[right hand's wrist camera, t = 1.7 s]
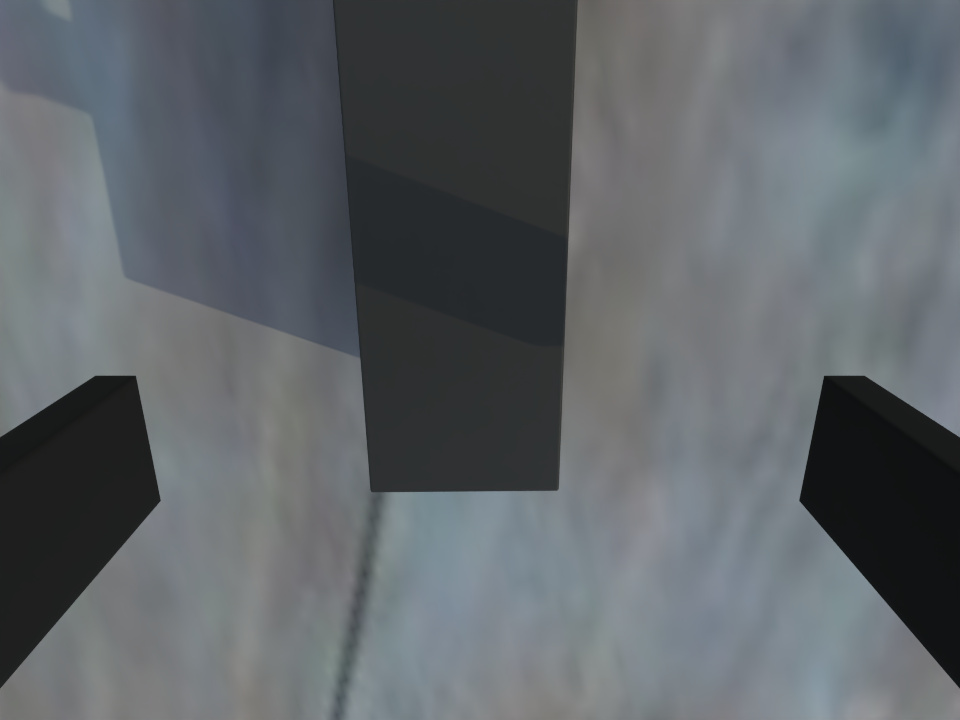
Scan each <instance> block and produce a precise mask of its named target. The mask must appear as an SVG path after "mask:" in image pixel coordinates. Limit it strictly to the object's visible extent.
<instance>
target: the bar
mask: <svg viewBox="0 0 960 720" xmlns="http://www.w3.org/2000/svg"><path fill="white" fill-rule="evenodd" d="M333 6H334V19H335V32H336V45H337V58H338V71H339V84H340V97H341V110H342V123H343V136H344V149H345V162H346V175H347V188H348V201H349V215H350V228H351V241H352V254H353V267H354V280H355V293H356V306H357V319H358V332H359V345H360V358H361V371H362V384H363V397H364V410H365V423H366V436H367V449H368V462H369V475H370V488H371V492H446V491H557V490H558V489H559V467H560V441H561V415H562V389H563V363H564V337H565V311H566V285H567V259H568V233H569V207H570V181H571V155H572V129H573V104H574V78H575V52H576V26H577V0H333Z"/></svg>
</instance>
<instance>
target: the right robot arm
mask: <svg viewBox="0 0 960 720" xmlns="http://www.w3.org/2000/svg"><path fill="white" fill-rule="evenodd" d="M160 501H161V500H160V495H159V490H158V485H157V480H156V475H155V470H154V465H153V460H152V455H151V450H150V445H149V440H148V435H147V430H146V425H145V420H144V415H143V410H142V405H141V400H140V395H139V390H138V385H137V380H136V376H95V377H93V378H91V379H90V380H88V381H87V382H85V383H84V384H82V385H81V386H79V387H78V388H76V389H74V390H73V391H71V392H70V393H68V394H67V395H65V396H64V397H62V398H61V399H59V400H57V401H56V402H54V403H53V404H51V405H50V406H48V407H47V408H45V409H44V410H42V411H40V412H39V413H37V414H36V415H34V416H33V417H31V418H30V419H28V420H26V421H25V422H23V423H22V424H20V425H19V426H17V427H16V428H14V429H13V430H11V431H9V432H8V433H6V434H5V435H3V436H2V437H0V688H1V687H2V686H3V684H4V683H5V682H6V681H7V680H8V679H9V677H10V676H11V675H12V674H13V673H14V672H15V670H16V669H17V668H18V667H19V666H20V665H21V663H22V662H23V661H24V660H25V659H26V658H27V656H28V655H29V654H30V653H31V652H32V651H33V649H34V648H35V647H36V646H37V645H38V644H39V642H40V641H41V640H42V639H43V638H44V637H45V635H46V634H47V633H48V632H49V631H50V630H51V628H52V627H53V626H54V625H55V624H56V623H57V621H58V620H59V619H60V618H61V617H62V615H63V614H64V613H65V612H66V611H67V610H68V608H69V607H70V606H71V605H72V604H73V603H74V601H75V600H76V599H77V598H78V597H79V596H80V594H81V593H82V592H83V591H84V590H85V589H86V587H87V586H88V585H89V584H90V583H91V582H92V580H93V579H94V578H95V577H96V576H97V575H98V573H99V572H100V571H101V570H102V569H103V568H104V566H105V565H106V564H107V563H108V562H109V561H110V559H111V558H112V557H113V556H114V555H115V553H116V552H117V551H118V550H119V549H120V548H121V546H122V545H123V544H124V543H125V542H126V541H127V539H128V538H129V537H130V536H131V535H132V534H133V532H134V531H135V530H136V529H137V528H138V527H139V525H140V524H141V523H142V522H143V521H144V520H145V518H146V517H147V516H148V515H149V514H150V513H151V511H152V510H153V509H154V508H155V507H156V506H157V504H158V503H159V502H160ZM799 501H800V502H801V503H802V504H803V506H804V507H805V508H806V509H807V510H808V511H809V513H810V514H811V515H812V516H813V517H814V518H815V520H816V521H817V522H818V523H819V524H820V525H821V527H822V528H823V529H824V530H825V531H826V532H827V534H828V535H829V536H830V537H831V538H832V539H833V541H834V542H835V543H836V544H837V545H838V546H839V548H840V549H841V550H842V551H843V552H844V553H845V555H846V556H847V557H848V558H849V559H850V561H851V562H852V563H853V564H854V565H855V566H856V568H857V569H858V570H859V571H860V572H861V573H862V575H863V576H864V577H865V578H866V579H867V580H868V582H869V583H870V584H871V585H872V586H873V587H874V589H875V590H876V591H877V592H878V593H879V594H880V596H881V597H882V598H883V599H884V600H885V601H886V603H887V604H888V605H889V606H890V607H891V608H892V610H893V611H894V612H895V613H896V614H897V615H898V617H899V618H900V619H901V620H902V621H903V623H904V624H905V625H906V626H907V627H908V628H909V630H910V631H911V632H912V633H913V634H914V635H915V637H916V638H917V639H918V640H919V641H920V642H921V644H922V645H923V646H924V647H925V648H926V649H927V651H928V652H929V653H930V654H931V655H932V656H933V658H934V659H935V660H936V661H937V662H938V663H939V665H940V666H941V667H942V668H943V669H944V670H945V672H946V673H947V674H948V675H949V676H950V677H951V679H952V680H953V681H954V682H955V683H956V685H957V686H958V687H959V688H960V437H958V436H957V435H955V434H954V433H952V432H951V431H949V430H947V429H946V428H944V427H943V426H941V425H940V424H938V423H937V422H935V421H934V420H932V419H930V418H929V417H927V416H926V415H924V414H923V413H921V412H920V411H918V410H916V409H915V408H913V407H912V406H910V405H909V404H907V403H906V402H904V401H903V400H901V399H899V398H898V397H896V396H895V395H893V394H892V393H890V392H889V391H887V390H886V389H884V388H882V387H881V386H879V385H878V384H876V383H875V382H873V381H872V380H870V379H869V378H867V377H865V376H824V380H823V385H822V390H821V395H820V400H819V405H818V410H817V415H816V420H815V425H814V430H813V435H812V440H811V445H810V450H809V455H808V460H807V465H806V470H805V475H804V480H803V485H802V490H801V495H800V500H799Z"/></svg>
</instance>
